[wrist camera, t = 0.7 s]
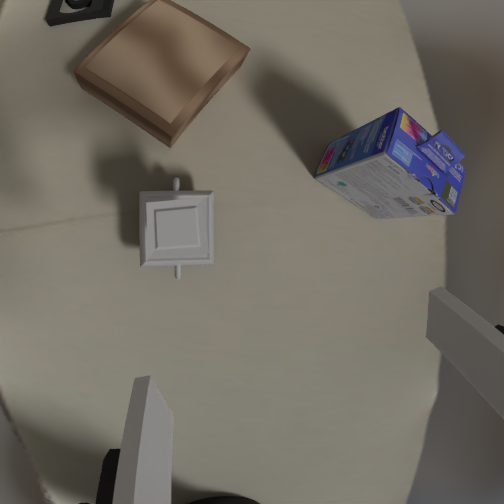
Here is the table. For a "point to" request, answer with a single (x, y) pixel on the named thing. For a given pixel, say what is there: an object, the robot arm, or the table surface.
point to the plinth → (161, 67)
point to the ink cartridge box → (395, 168)
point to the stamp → (176, 228)
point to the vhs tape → (99, 7)
